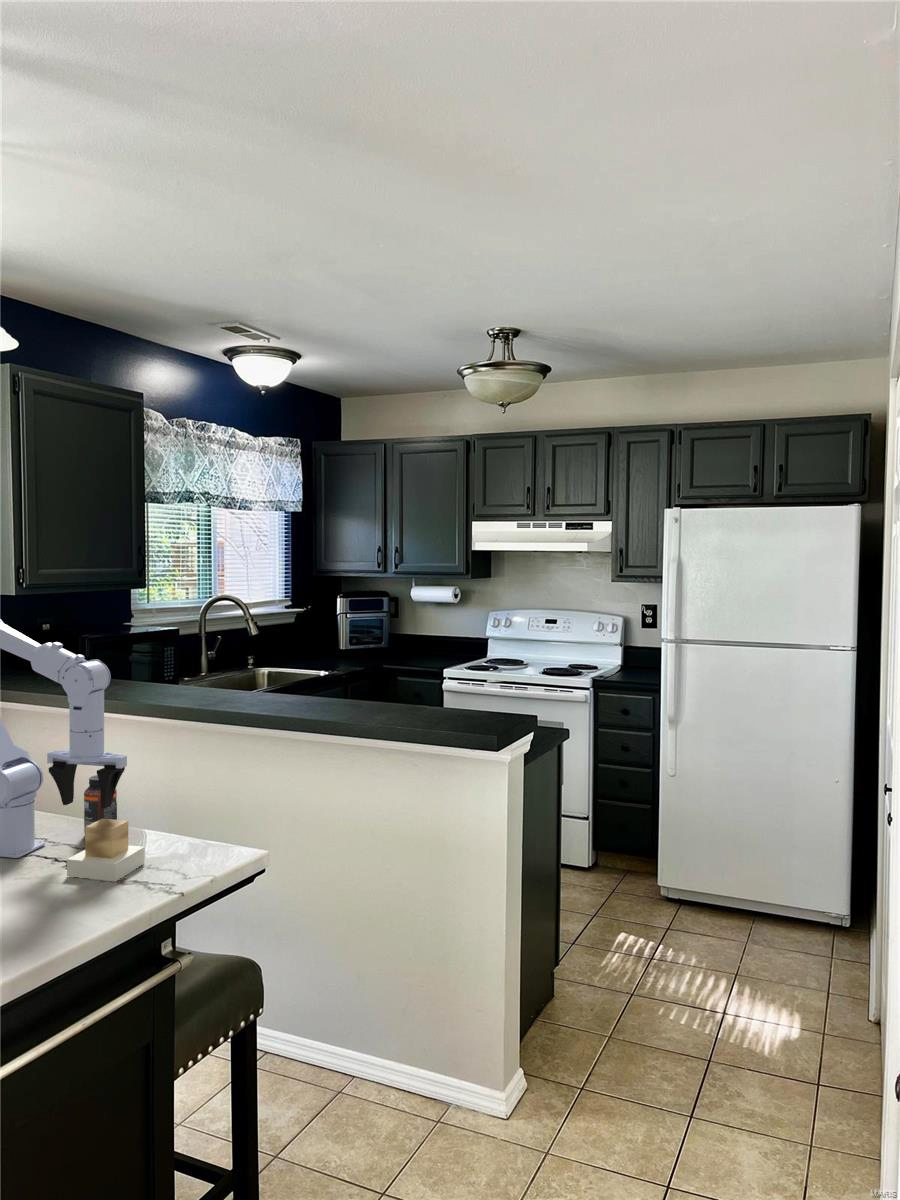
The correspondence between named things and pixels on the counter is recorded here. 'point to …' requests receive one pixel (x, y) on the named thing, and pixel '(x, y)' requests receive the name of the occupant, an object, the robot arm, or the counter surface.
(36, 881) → the counter surface
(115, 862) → the base block
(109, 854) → the oak block
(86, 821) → the supplement bottle
